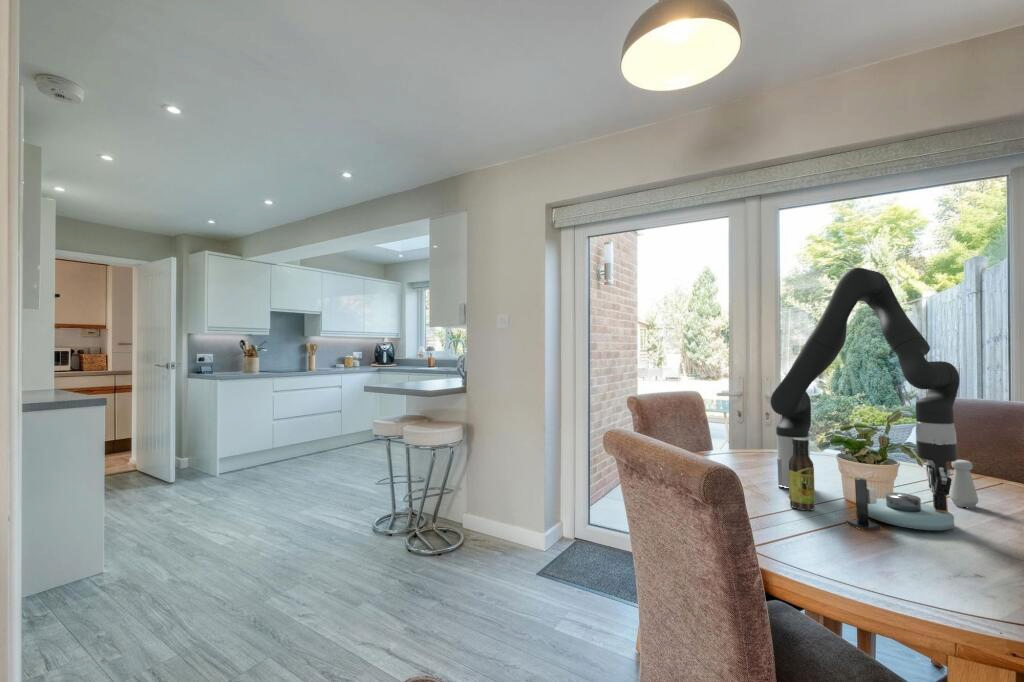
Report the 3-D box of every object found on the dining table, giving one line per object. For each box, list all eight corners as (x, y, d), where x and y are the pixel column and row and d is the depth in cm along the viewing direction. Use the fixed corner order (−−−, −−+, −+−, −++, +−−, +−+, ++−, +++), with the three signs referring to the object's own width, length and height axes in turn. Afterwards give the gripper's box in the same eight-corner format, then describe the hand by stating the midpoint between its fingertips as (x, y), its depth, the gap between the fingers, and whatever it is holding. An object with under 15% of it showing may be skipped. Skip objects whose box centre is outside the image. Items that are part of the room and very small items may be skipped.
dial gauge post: (863, 530, 113) (861, 482, 114) (845, 523, 118) (843, 477, 119) (885, 528, 114) (882, 480, 115) (866, 521, 119) (864, 475, 120)
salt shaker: (966, 503, 131) (963, 458, 131) (985, 509, 125) (982, 462, 126) (944, 502, 132) (942, 458, 132) (962, 509, 126) (959, 462, 126)
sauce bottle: (805, 512, 127) (802, 441, 127) (784, 506, 132) (781, 438, 133) (820, 509, 129) (817, 439, 130) (799, 503, 135) (796, 436, 135)
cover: (894, 511, 117) (893, 498, 117) (881, 502, 124) (880, 490, 124) (927, 513, 115) (926, 500, 115) (911, 504, 122) (911, 492, 122)
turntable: (881, 526, 113) (879, 498, 113) (852, 503, 130) (850, 478, 130) (972, 533, 107) (970, 503, 107) (929, 508, 124) (928, 482, 124)
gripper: (911, 435, 122) (914, 500, 121) (921, 443, 111) (926, 514, 110) (948, 437, 118) (953, 504, 117) (964, 445, 107) (969, 520, 106)
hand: (940, 509), depth 114 cm, fingers closed
